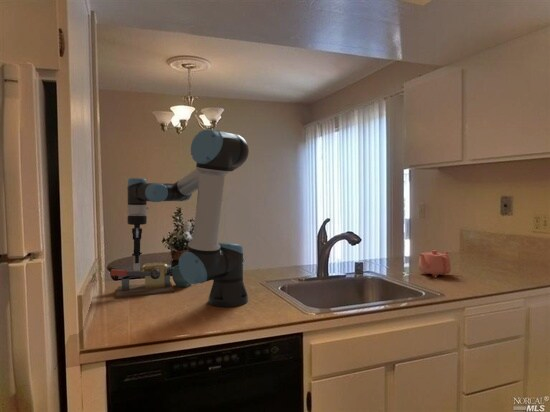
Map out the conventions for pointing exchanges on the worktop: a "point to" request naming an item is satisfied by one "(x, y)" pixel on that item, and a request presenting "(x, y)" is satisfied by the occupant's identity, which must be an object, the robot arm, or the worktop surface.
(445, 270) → the teapot
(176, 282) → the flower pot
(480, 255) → the worktop surface
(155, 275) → the lever
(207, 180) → the robot arm
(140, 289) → the mount board
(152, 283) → the valve
